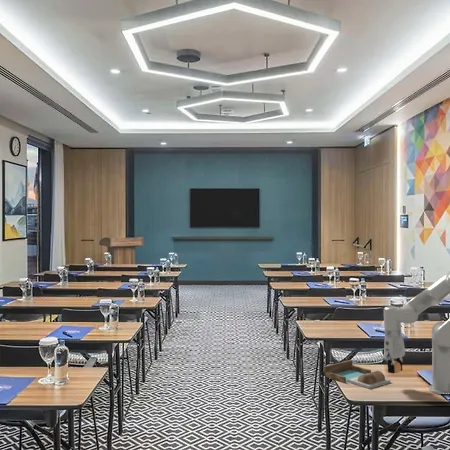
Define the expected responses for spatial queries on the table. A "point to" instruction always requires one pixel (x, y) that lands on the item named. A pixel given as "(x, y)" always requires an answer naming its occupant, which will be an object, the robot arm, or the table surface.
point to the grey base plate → (354, 381)
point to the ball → (396, 366)
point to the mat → (350, 374)
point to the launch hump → (371, 377)
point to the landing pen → (342, 370)
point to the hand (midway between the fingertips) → (395, 371)
